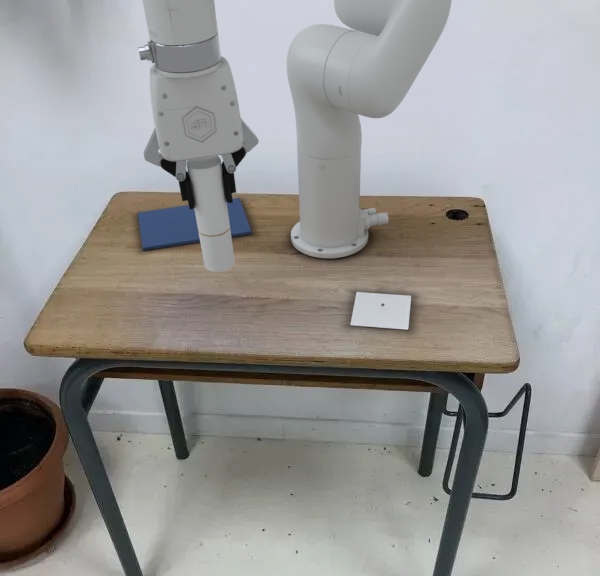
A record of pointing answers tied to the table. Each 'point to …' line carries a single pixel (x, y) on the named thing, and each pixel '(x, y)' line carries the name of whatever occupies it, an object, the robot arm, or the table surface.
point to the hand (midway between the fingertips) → (209, 199)
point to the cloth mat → (184, 225)
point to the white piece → (381, 310)
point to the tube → (211, 213)
